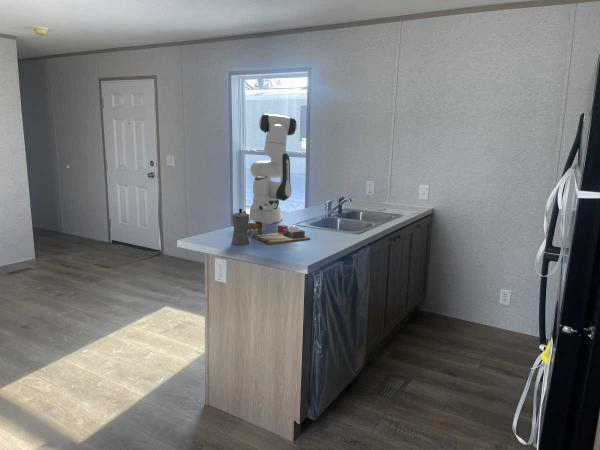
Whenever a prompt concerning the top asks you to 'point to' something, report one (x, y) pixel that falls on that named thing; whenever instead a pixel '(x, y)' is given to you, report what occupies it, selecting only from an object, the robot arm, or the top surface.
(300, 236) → the wooden cutting board
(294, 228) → the dome
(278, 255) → the top surface
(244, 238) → the coffeepot
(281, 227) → the red die
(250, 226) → the lion figurine
